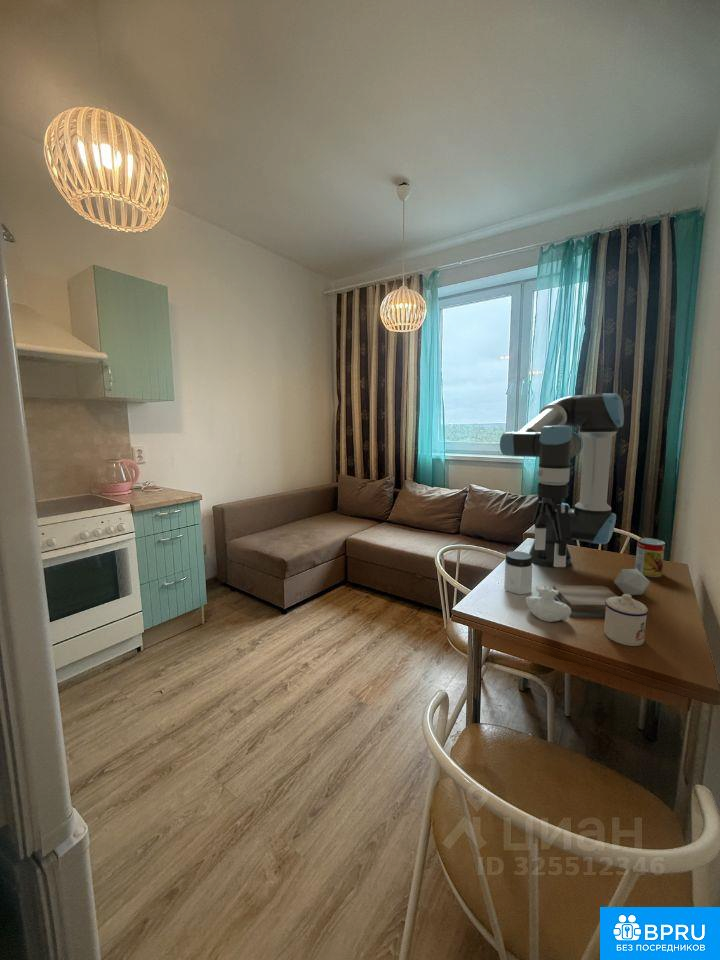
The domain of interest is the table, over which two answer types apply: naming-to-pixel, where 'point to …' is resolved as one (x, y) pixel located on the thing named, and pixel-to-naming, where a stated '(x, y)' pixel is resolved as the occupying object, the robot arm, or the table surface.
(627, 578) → the die
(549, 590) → the bust
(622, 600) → the teacup with lid
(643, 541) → the canned food
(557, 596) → the pedestal
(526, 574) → the jar
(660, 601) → the table surface
